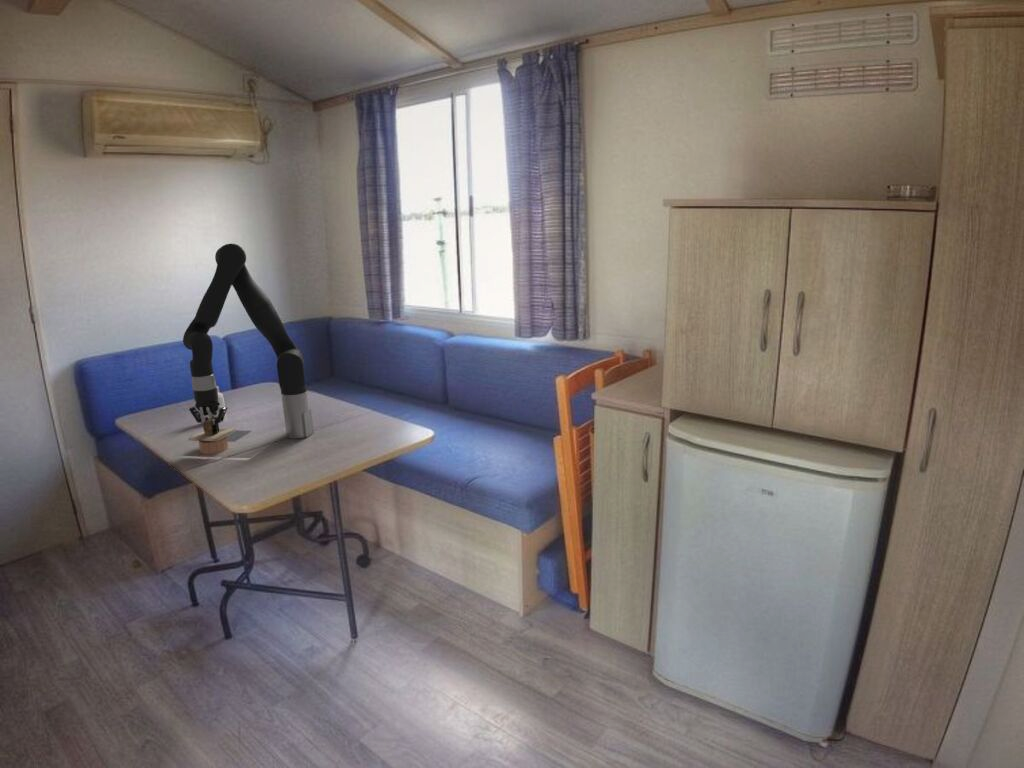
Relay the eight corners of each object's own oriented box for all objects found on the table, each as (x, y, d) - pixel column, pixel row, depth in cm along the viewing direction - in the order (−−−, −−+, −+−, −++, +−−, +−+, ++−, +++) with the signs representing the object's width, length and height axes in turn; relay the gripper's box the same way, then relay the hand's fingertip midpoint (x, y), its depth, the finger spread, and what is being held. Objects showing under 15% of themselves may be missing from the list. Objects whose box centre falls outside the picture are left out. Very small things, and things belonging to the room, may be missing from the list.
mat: (252, 432, 240) (252, 430, 240) (235, 443, 229) (234, 441, 229) (223, 431, 242) (223, 430, 242) (205, 442, 230) (205, 440, 230)
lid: (235, 431, 225) (233, 416, 223) (217, 441, 214) (215, 425, 213) (207, 430, 226) (205, 415, 225) (188, 440, 216) (186, 424, 214)
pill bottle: (219, 418, 259) (214, 384, 255) (231, 421, 255) (226, 386, 251) (202, 423, 252) (196, 388, 249) (214, 426, 248) (208, 391, 245)
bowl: (233, 447, 225) (231, 434, 224) (219, 456, 217) (217, 443, 215) (210, 446, 227) (208, 433, 225) (195, 455, 218) (193, 442, 217)
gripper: (229, 384, 218) (236, 430, 223) (193, 384, 220) (200, 429, 224) (216, 390, 211) (224, 437, 215) (179, 389, 213) (187, 436, 217)
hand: (212, 433), depth 220 cm, fingers closed on lid, 2 cm apart
